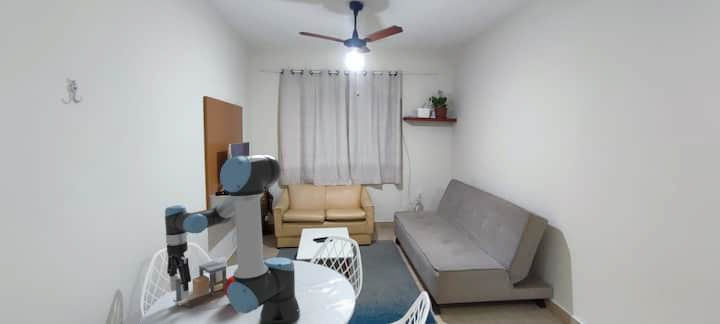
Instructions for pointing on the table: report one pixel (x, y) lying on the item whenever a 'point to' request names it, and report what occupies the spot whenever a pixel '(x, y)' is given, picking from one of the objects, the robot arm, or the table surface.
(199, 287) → the u-shaped holder
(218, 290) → the grey legged frame
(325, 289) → the table surface
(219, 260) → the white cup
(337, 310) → the table surface
